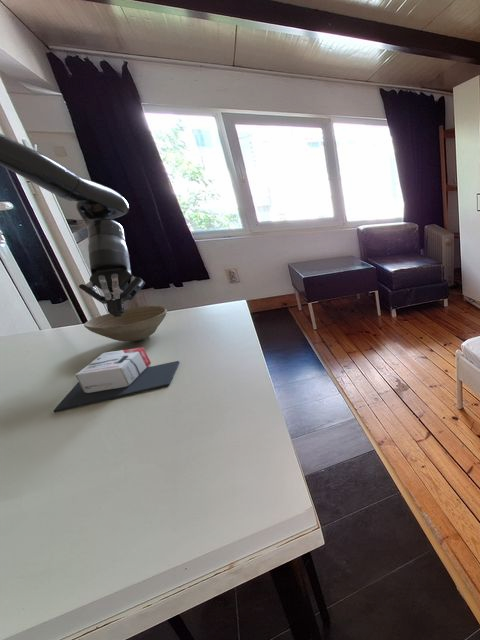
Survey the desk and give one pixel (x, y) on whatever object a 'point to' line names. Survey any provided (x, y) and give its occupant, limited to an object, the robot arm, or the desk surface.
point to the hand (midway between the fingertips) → (117, 314)
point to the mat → (144, 382)
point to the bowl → (128, 323)
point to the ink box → (113, 370)
